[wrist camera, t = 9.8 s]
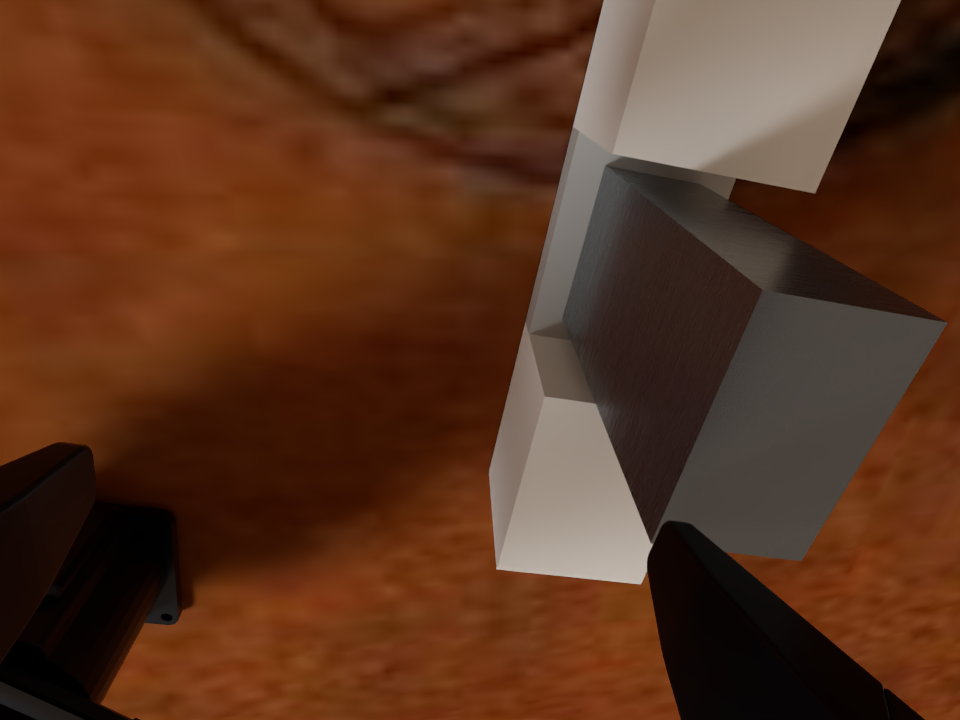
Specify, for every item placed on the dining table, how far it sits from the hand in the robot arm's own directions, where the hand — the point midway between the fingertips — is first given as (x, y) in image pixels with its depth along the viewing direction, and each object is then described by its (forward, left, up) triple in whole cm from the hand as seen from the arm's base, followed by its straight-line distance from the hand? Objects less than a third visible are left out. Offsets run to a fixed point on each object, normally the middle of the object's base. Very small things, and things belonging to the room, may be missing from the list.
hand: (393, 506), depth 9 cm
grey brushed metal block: (+2, -6, -11) cm, 12 cm away
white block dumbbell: (+2, -6, -12) cm, 13 cm away
